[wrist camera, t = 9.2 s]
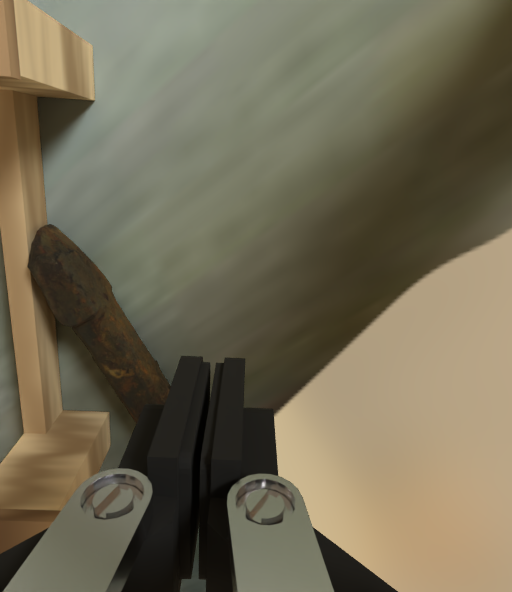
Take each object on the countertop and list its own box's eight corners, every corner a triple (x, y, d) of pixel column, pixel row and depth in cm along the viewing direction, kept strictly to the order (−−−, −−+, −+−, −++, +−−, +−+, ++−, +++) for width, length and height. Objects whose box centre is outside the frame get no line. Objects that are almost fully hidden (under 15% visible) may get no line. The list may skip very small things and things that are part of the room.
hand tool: (212, 428, 35) (208, 468, 31) (167, 447, 35) (156, 489, 31) (90, 206, 30) (63, 216, 25) (37, 231, 30) (2, 244, 25)
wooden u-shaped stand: (95, 42, 26) (1, -28, 16) (113, 447, 35) (59, 570, 25) (2, 35, 26) (-156, -41, 16) (43, 444, 35) (-41, 567, 25)
